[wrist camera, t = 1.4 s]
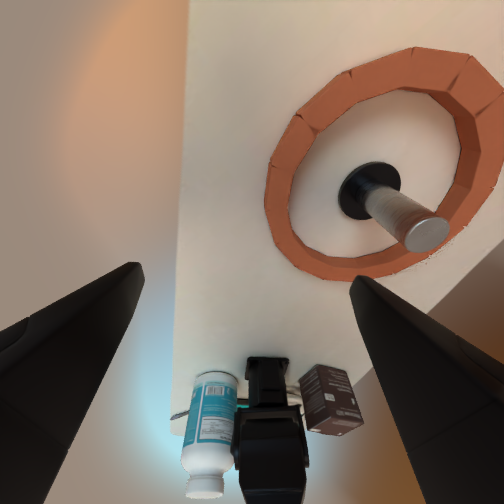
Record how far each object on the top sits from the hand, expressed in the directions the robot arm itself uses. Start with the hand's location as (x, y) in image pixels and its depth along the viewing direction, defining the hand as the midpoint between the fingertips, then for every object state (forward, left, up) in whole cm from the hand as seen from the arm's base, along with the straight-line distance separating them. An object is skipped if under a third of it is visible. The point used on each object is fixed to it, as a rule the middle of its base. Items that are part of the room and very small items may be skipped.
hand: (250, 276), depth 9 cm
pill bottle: (-34, +3, -12) cm, 36 cm away
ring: (+1, -10, -12) cm, 15 cm away
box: (-31, -15, -12) cm, 37 cm away
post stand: (+1, -10, -12) cm, 15 cm away
